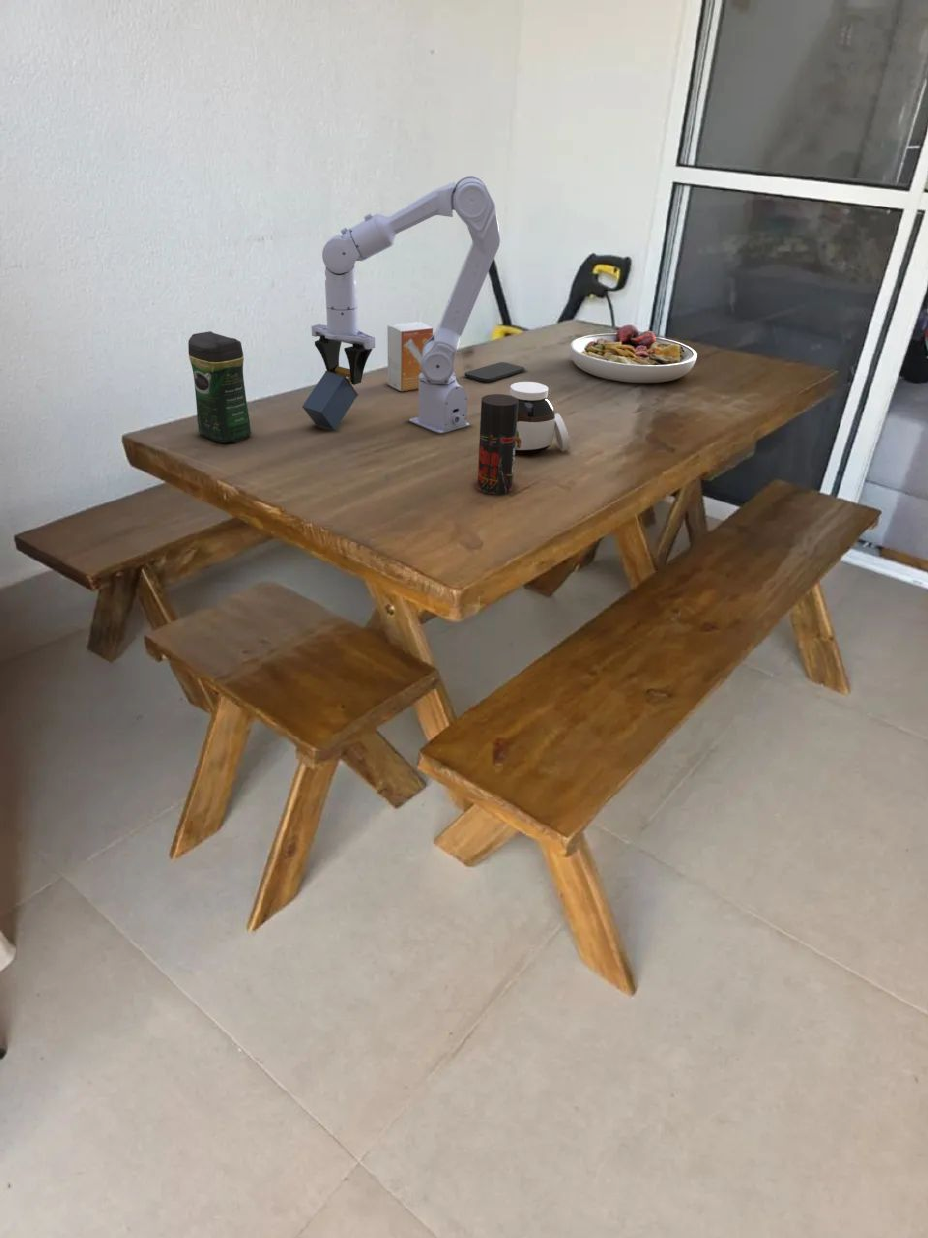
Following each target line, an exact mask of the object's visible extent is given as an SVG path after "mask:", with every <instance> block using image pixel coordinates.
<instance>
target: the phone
mask: <svg viewBox="0 0 928 1238" xmlns="http://www.w3.org/2000/svg"><path fill="white" fill-rule="evenodd" d="M524 371H525V367H524V366H522V365H517V364H513V363H509V362H504V361H500V362H496V363H493V364H488V365H486V366H482V367H479V368H476V369H472V370H467V371H465V372H464V377H466V378H469V379H472V380H476V381H479V382H484V383H490V382H494V381H498V380H501V379H503V378H507V377H510V376H513V375H516V374H521V373H523V372H524Z"/></svg>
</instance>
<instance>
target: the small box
mask: <svg viewBox="0 0 928 1238" xmlns="http://www.w3.org/2000/svg"><path fill="white" fill-rule="evenodd" d="M386 326H387V328H386V329H387V330H386V331H387V334H386V335H387V385H388V386H390V387H392V388H393V389H396V390H397V391H400V392H406V391H413V390H419V374H420V373H422V370H421V361H422V355H421V354H422V348H423V346H424V344H425V343H426V342H427V341H428V340H429V339H431V337H432V336H433V334H434V327H432V326H430V325H428V324H425V323H423V322H421V321H415V322H414V321H413V322H402V323H401V322H400V323H396V324H387V325H386Z"/></svg>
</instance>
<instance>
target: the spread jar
mask: <svg viewBox="0 0 928 1238" xmlns="http://www.w3.org/2000/svg"><path fill="white" fill-rule="evenodd" d="M509 388H510V390H509V395H510V396H513V397H516V398H517V399H518V400H519V404H518V418H517V432H516V446H515V455H517V456H524V457H525V456H526V457H532V456H537V455H540V454H541V453H543V452H545V451H546V450H547V449H549V448H550V447H551V445H552V443H553V439H554V440H555V443H556V445H557V447H558V448H559V450H560V451H561V452H564V451H566V450H570V447H571V441H570V437H569V433H568V429H567V427H566V424H565V422H564V419H563V418H562V416H561V415H560V414H559V413H555V409H554V406H553V405H552V403H551V401H550V400H549V398H548V396H549V387H548V386H547V385H545V384H543V383H540V382H534V381H518V382H514V383H512V384H511V385H510V387H509Z"/></svg>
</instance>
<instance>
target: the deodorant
mask: <svg viewBox="0 0 928 1238" xmlns="http://www.w3.org/2000/svg"><path fill="white" fill-rule="evenodd" d="M480 401H481V405H480V422H479V444H478V464H477V465H478V467H477V483H476V485H477V487H476V488H477V490H478V491H479V492H481V493H484V494H487V495H493V496H499V495H500V496H502V495H507V494H509V493H511V492H512V491H513V488H514V486H513V485H514V475H515V474H514V473H515V459H516V458H515V457H516V454H515V446H516V432H517V418H518V404H519V400H518V399H517V398H516V397H513V396H510V394H503V393H493V394H486V395H484V396H482V397H481V400H480Z"/></svg>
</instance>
